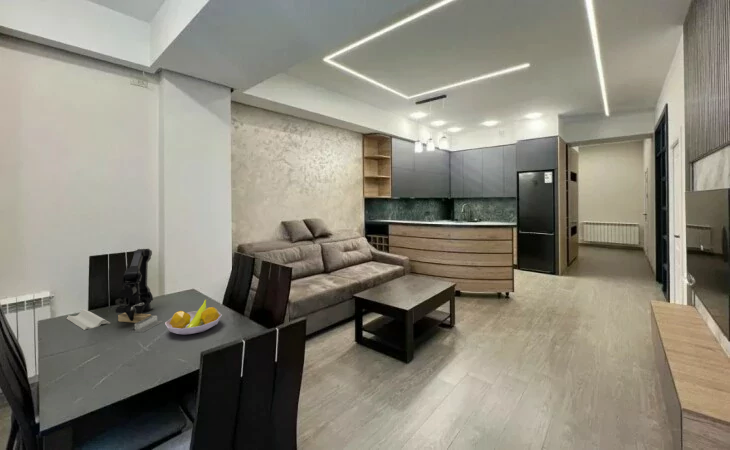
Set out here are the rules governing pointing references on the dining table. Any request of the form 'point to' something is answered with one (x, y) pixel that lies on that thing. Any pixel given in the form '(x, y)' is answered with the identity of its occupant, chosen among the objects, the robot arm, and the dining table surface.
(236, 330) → the dining table surface
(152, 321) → the fulcrum stand
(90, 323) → the crown molding
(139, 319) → the oak batten
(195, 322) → the fruit bowl
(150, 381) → the dining table surface
